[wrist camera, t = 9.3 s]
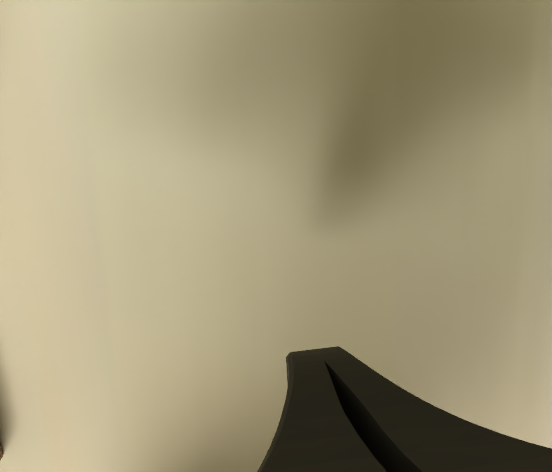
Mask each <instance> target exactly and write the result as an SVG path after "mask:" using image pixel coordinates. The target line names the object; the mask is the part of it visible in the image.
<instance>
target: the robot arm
mask: <svg viewBox="0 0 552 472" xmlns="http://www.w3.org/2000/svg"><path fill="white" fill-rule="evenodd" d="M286 363H287V381H288V389H287V396H286V400H285V404H284V408H283V412H282V415H281V419H280V422H279V425H278V428H277V431H276V433H275V436H274V438H273V441H272V443H271V446H270V448H269V450H268V452H267V454H266V456H265V458H264V460H263V462H262V464H261V466H260V468H259V470H258V472H552V449H551V448H547V447H543V446H540V445H536V444H532V443H529V442H525V441H522V440H519V439H516V438H512V437H509V436H506V435H503V434H500V433H498V432H495V431H492V430H489V429H487V428H484V427H481V426H478V425H476V424H473V423H471V422H468V421H466V420H463V419H461V418H459V417H457V416H454V415H452V414H450V413H448V412H446V411H444V410H441V409H439V408H437V407H435V406H433V405H431V404H429V403H427V402H425V401H423V400H421V399H420V398H418V397H416V396H414V395H413V394H411V393H409V392H407V391H406V390H404V389H402V388H400V387H399V386H397V385H396V384H394V383H392V382H391V381H389V380H388V379H386V378H384V377H383V376H381V375H380V374H378V373H377V372H375V371H374V370H372V369H371V368H370V367H368V366H367V365H365V364H364V363H362V362H361V361H360V360H358V359H357V358H355V357H354V356H352V355H351V354H350V353H348V352H347V351H345V350H344V349H342V348H341V347H330V348H322V349H313V350H305V351H297V352H290V353H289V354H288V356H287V357H286Z"/></svg>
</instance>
